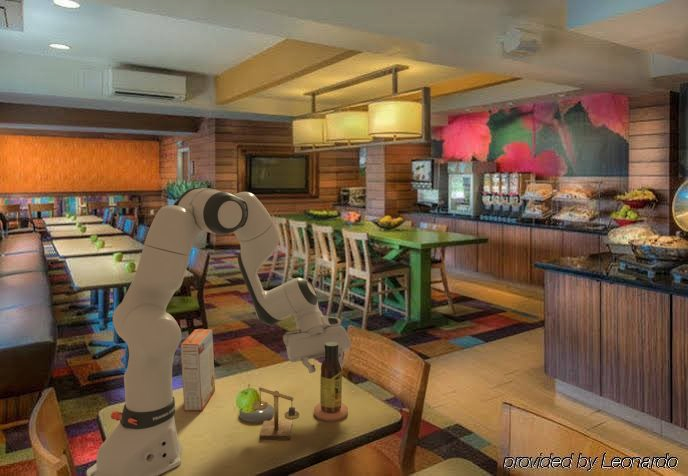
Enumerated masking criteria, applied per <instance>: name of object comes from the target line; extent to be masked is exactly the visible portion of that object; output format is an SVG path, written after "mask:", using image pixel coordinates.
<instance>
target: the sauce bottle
mask: <svg viewBox="0 0 688 476" xmlns="http://www.w3.org/2000/svg"><path fill="white" fill-rule="evenodd" d="M324 347H325V356H324V360H323V361H322V364H321V365H320V366H321V367H320V393H319V395H320V398H319V399H320V402H319V403H320V404H321V409H322V411H324V412H327V413H334V412H337V411H339V410H340V409H341V403H342V401H343V400H342V396H343V395H342V389H343V387H342V386H343V385H342V384H343V382H342V381H343V377H342V376H343V375H342V374H343V369H342V366H340V363H339V360H338V359H339V356H338V343H336V342H327V343H325V345H324Z"/></svg>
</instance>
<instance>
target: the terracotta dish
mask: <svg viewBox="0 0 688 476" xmlns="http://www.w3.org/2000/svg"><path fill="white" fill-rule="evenodd" d="M348 414H349V408H348V406H347V405H346V404H344V403H342V402H341V409H340V410H339V411H337V412H334V413H327V412H324V411H322V409H321V404H320V402H319V403H318V404H316V405H315V406H314V408H313V415H314V417H315V418H317V419H319V420H321V421H323V422H325V421H326V422H335V421H336V422H337V421H341V420H343V419H345V418H347V416H348Z"/></svg>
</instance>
